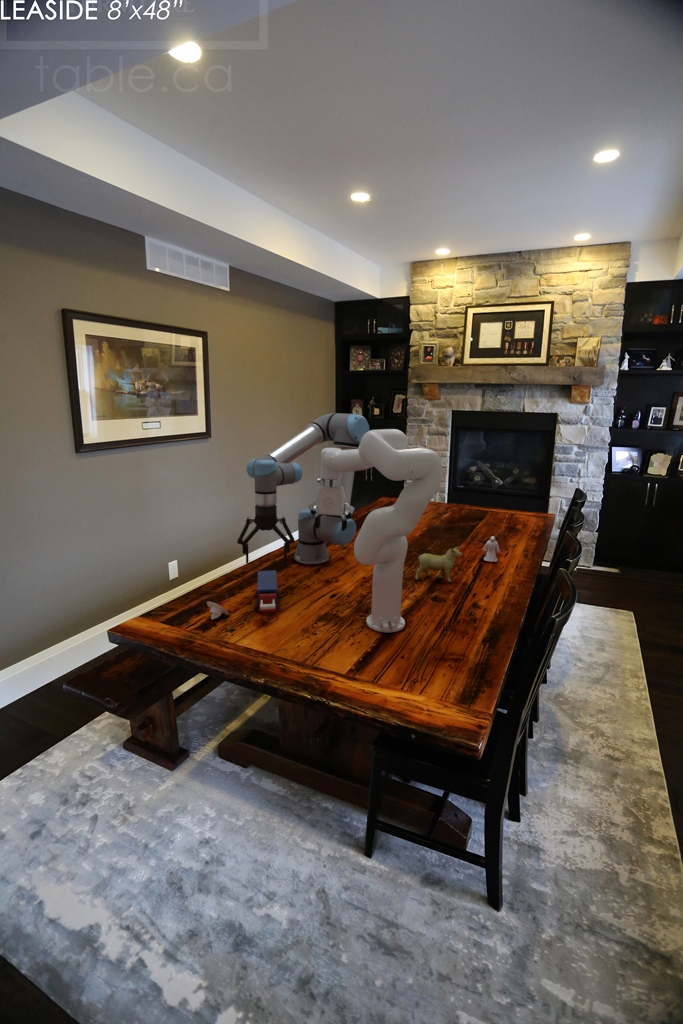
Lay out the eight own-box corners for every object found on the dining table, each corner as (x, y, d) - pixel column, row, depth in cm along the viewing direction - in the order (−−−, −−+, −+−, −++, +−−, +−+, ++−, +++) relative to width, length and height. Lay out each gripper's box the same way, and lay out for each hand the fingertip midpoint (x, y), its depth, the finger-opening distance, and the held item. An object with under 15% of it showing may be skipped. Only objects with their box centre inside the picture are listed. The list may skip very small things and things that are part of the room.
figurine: (481, 562, 222) (483, 536, 219) (482, 556, 230) (484, 531, 227) (499, 564, 220) (501, 538, 217) (499, 558, 228) (501, 533, 225)
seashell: (213, 627, 166) (197, 609, 165) (224, 617, 169) (208, 599, 168) (221, 623, 159) (205, 604, 159) (233, 612, 163) (217, 594, 162)
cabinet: (277, 611, 171) (277, 589, 169) (257, 612, 170) (257, 589, 168) (276, 590, 188) (276, 570, 186) (258, 591, 186) (257, 571, 185)
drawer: (276, 620, 162) (276, 602, 160) (259, 620, 161) (259, 603, 160) (274, 592, 184) (274, 576, 182) (259, 593, 183) (259, 577, 181)
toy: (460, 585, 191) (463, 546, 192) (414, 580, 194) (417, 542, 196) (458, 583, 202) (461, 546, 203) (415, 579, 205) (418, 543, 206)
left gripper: (300, 501, 181) (300, 557, 186) (230, 502, 177) (231, 559, 182) (302, 506, 174) (301, 564, 179) (228, 507, 170) (230, 566, 175)
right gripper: (305, 483, 177) (305, 529, 181) (352, 486, 173) (351, 533, 177) (311, 479, 184) (311, 524, 188) (357, 482, 180) (356, 528, 184)
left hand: (266, 561), depth 181 cm, fingers open, 13 cm apart
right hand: (330, 528), depth 182 cm, fingers open, 9 cm apart
